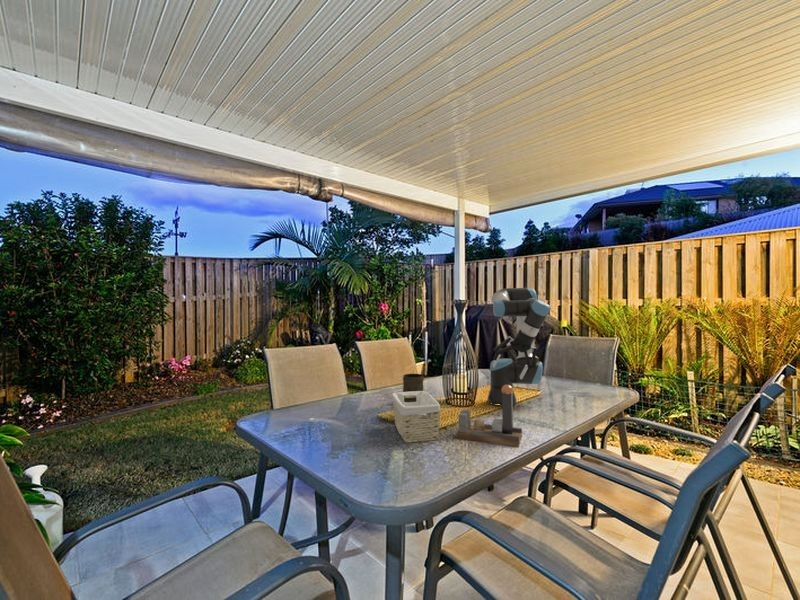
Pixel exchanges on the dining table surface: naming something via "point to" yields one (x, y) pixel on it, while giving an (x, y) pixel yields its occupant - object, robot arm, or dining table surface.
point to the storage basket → (416, 416)
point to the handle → (505, 413)
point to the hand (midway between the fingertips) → (506, 372)
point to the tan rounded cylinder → (479, 425)
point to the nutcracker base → (485, 432)
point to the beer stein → (412, 384)
